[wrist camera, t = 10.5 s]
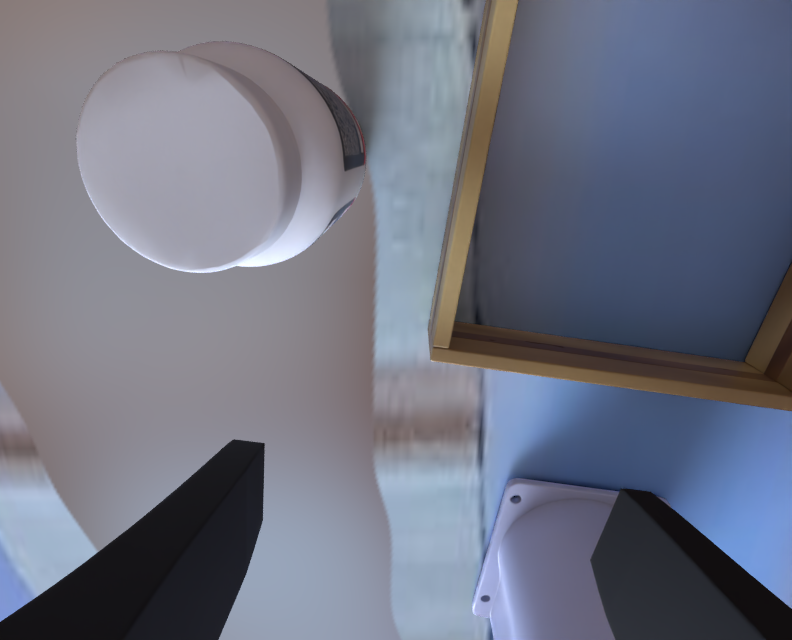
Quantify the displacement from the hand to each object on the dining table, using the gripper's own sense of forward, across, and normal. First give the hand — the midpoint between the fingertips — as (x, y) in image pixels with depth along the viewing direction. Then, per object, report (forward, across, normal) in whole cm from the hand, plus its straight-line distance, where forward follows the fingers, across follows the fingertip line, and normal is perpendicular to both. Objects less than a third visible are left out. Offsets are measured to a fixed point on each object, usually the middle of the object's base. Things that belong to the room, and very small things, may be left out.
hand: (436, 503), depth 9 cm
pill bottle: (+11, +6, -6) cm, 13 cm away
